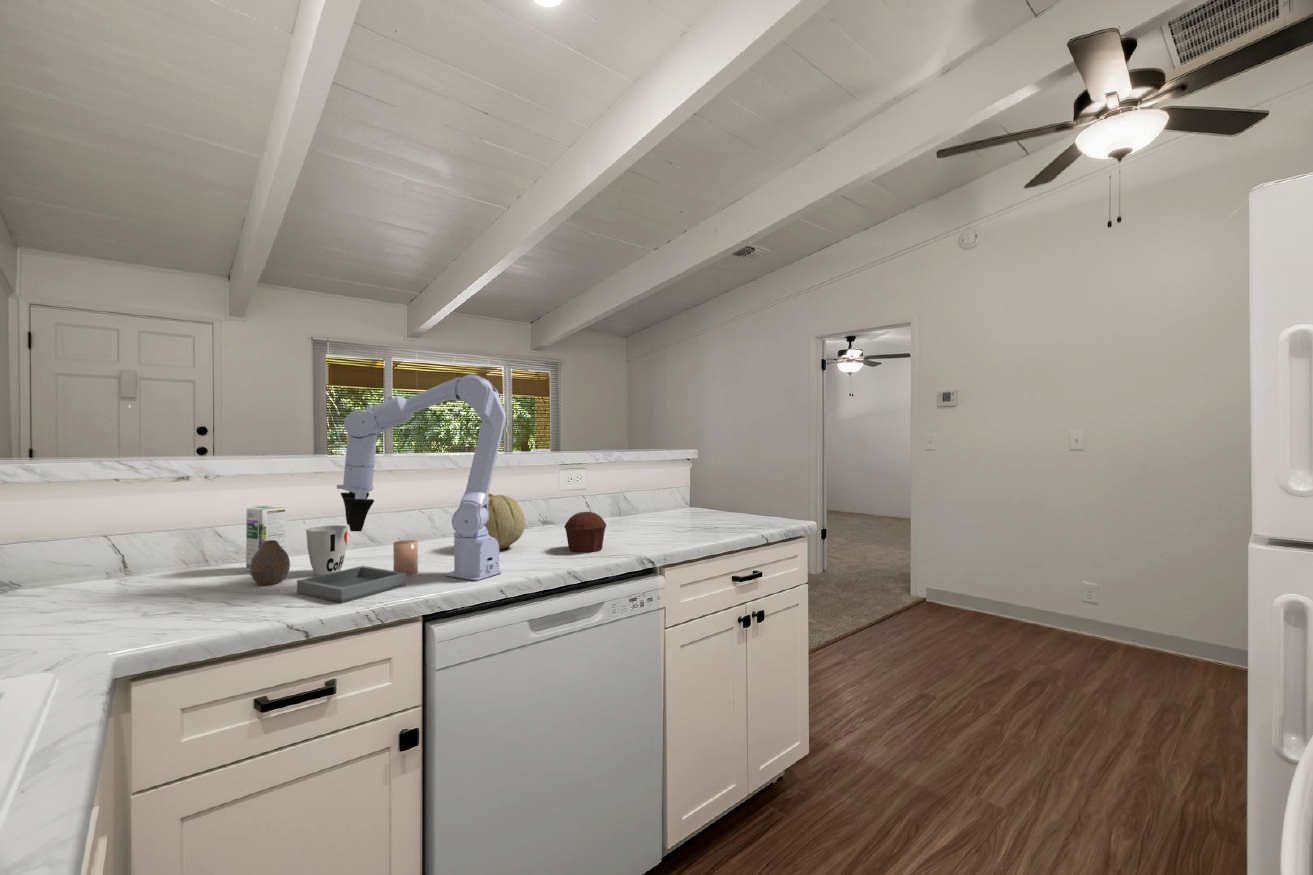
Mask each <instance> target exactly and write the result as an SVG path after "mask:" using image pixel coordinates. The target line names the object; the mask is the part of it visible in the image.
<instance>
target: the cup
mask: <svg viewBox="0 0 1313 875" xmlns="http://www.w3.org/2000/svg"><path fill="white" fill-rule="evenodd" d="M348 528H349V526H348V525H347V526H346V525H341V524H340V525H338V524H337V525H322V526H316V527H315V526H314V527H310V528H306V529H305V534H306V535H305V536H306V545H307V552H308V558H309V562H310V563H309V564H310V565H311V568H312V571H313V573H314V575H316V576H320V575H324V574H329V573H333V572H337V571H342V567H343V564H344V561H345V556H346V550H347V544H348Z"/></svg>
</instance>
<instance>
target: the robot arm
mask: <svg viewBox="0 0 1313 875" xmlns="http://www.w3.org/2000/svg"><path fill="white" fill-rule="evenodd" d="M386 399H387V400H386V401H383V402H381V403H378V404H375V405H371V404H369V405H367V406H366V409H365V410H362V409H355V410H353V411H352V412H350V413H349V414H348V415H346V417H345V419H344V422H343V426H344V429H345V432H346V433H347V441H346V442H347V443H346V452H345V462H344V463H345V464H344V472H343V481H342V482H343V484H337V485H336V489H338V490H343V491H347V492H340V495H341V498H342V501H343V504H344V509H345V510H344V511H345V520H346V525H347V526H348V528H349V532H362V531H363V528H364V524H365V522H366V519H367V515H368V513H369V511H370V508H371V507H372V506H373V504H374V502H375V500H374V499H371V498H369V499H368V497H369V496H370V493H369V492H372V491H374V485H373V484H374V472H375V463H376V452H377V440H378V439H377V438H378V436H379V434H381V433H382V431H383V432H384V431H387V430H389V429H392V428H394V427H397V426H399V425H401V424H403V423H406V422H408V421H411V420H412V418H413V416H414V414H415V412H418V411H422V410H424V409H427V408H430V407H432V406H435V405H436V406H437V405H438V404H440V403H444V402H447V401H458V402H464V403H465V404H467V405H468V406H469V407H470V408H472V409H473V410H474V412H475V414H476V415H478V418H479V419H480V421H481V424H480V428H479V429H480V430H479V433H478V436H477V442H476V446H475V449H474V454H473V458H472V463H471V466H470V467H471V468H470V471H469V475H468V479H467V484H466V489H465V491H464V493H463V495H462V497H461V500H460V504H459V507H458V508H457V509H456V510H455V512H454V513H453V515H452V516H451V525H452V528H453V530H454V531H455V532H454V533H453V536H454V537H453V540H454V541H453V544H454V545H453V547H454V548H453V552H454V553H453V554H454V555H453V557H454V558H453V561H454V562H453V563H454V565H453V566H454V567H453V569H454V570H453V571H449V572H445V576H447V577H453V578H458V579H463V580H464V579H465V580H470V581H471V580H472V581H479V580H483V579H486V578H489V577H492V576H495V575H499V574H501V573H502V572H503V571H502V570H500V549H499V544H498V541H497V540H496V539H495V538H493V537H490V536H489V534H488V530H487V528H486V527H485V525H486V524H487V522H488V520H489V510H488V502H489V492H490V488H491V486H492V485H491V484H492V480H493V476H494V471H495V466H496V463H497V459H498V453H499V451H500V446H501V442H502V439H503V438H502V437H503V433H504V428H505V425H506V420H507V414H506V411H505V409H504V406H503V403H502V401H501V399H500V395H499V391H498V389H497V388H496V387H495V385H493V383H492V382H490V380H488V379H486V378H484V377H482V376H480V375H477V374H466V375H464V376H463V377H456V378H452V379H450V380H448V381H445V382H443V383H440V384H439V385H436V386H434V387H431V388H429V389H427V390H424V391H422V392H420V393H417V394H415V395H413V396H411V397H409V398H405V397H403V396H400V395H399V396H394V395H390V396H388V397H386Z"/></svg>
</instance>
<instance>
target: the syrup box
mask: <svg viewBox="0 0 1313 875" xmlns="http://www.w3.org/2000/svg"><path fill="white" fill-rule="evenodd" d="M286 510H287V507H286V506H273V505H259V506H258V505H256V506H251V507H247V508H246V516H245V517H246V521H245V522H246V525H245V526H246V528H245V529H246V534H245V537H246V542H245V544H246V545H245V546H246V547H245V555H246V556H245V571H246V572H250V564H251V561H252V558H253V556H254V555H255V553H256V552H257V551H258V550H259V549H260V547H261V546H262V544H263V542H264V541H270V540H276V541H277V542H278V544H279V545H280V546H281V547H282V548H283V549H284V550H285V551H286V548H287V546H286V544H287V542H286V539H287V537H286V536H287V535H286V533H287V531H286V526H287V525H286V524H287V523H286V521H287V520H286V519H287V517H286V516H287V511H286Z"/></svg>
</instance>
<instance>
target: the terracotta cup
mask: <svg viewBox="0 0 1313 875" xmlns="http://www.w3.org/2000/svg"><path fill="white" fill-rule="evenodd" d="M418 543H419V541H418V540H416V539H415V540H414V539H405V540H403V539H402V540H397V541H394V542H393V546H392V547H393V571H396V572H401V573H406V577H407V576H412V575H416V574H418V572H419V568H418V566H419V564H418V563H419V557H418V556H419V549H418V548H419V544H418Z"/></svg>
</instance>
